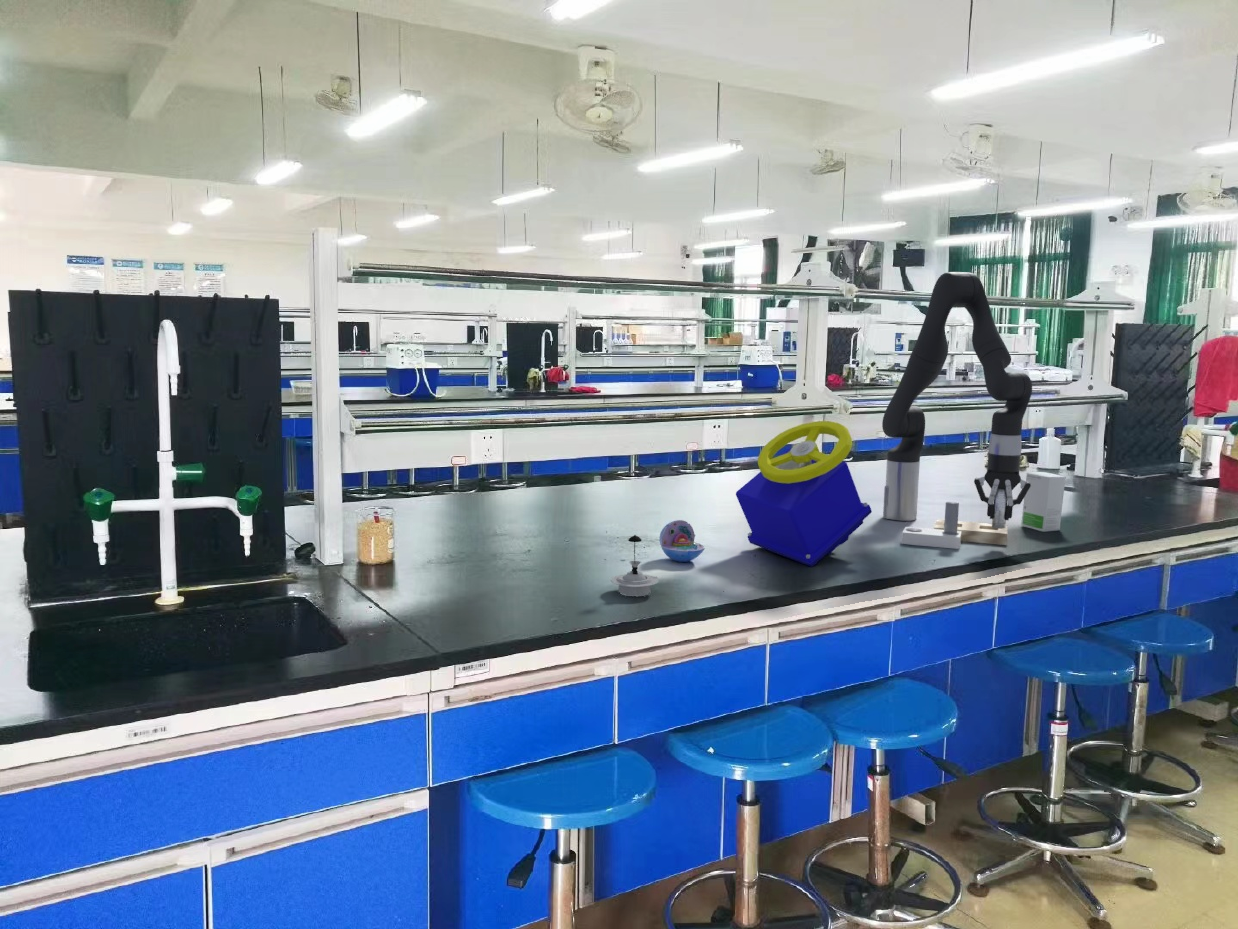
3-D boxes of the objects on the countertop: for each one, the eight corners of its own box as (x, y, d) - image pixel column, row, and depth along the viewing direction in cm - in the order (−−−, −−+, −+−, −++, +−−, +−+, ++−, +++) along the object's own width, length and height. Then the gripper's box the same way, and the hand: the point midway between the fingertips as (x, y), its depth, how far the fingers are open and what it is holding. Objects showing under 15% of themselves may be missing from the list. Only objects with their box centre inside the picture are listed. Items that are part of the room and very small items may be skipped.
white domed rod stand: (662, 539, 181) (655, 529, 191) (613, 540, 180) (608, 530, 190) (662, 599, 183) (655, 585, 193) (612, 600, 182) (608, 586, 192)
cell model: (679, 569, 207) (680, 528, 205) (650, 558, 217) (651, 518, 215) (714, 563, 212) (715, 523, 210) (684, 553, 222) (685, 514, 220)
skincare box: (1020, 526, 257) (1024, 472, 255) (1037, 524, 259) (1041, 471, 257) (1044, 532, 249) (1049, 476, 247) (1062, 530, 252) (1066, 475, 250)
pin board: (933, 538, 240) (933, 527, 240) (936, 529, 251) (936, 519, 251) (1006, 545, 233) (1007, 533, 233) (1006, 535, 244) (1007, 525, 244)
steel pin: (991, 527, 229) (994, 489, 228) (991, 525, 232) (994, 487, 230) (1005, 529, 228) (1008, 490, 226) (1005, 526, 231) (1008, 488, 229)
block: (901, 543, 234) (904, 502, 232) (904, 537, 241) (907, 497, 240) (959, 549, 228) (962, 506, 227) (960, 542, 236) (963, 501, 234)
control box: (824, 505, 239) (788, 411, 226) (904, 529, 217) (869, 427, 204) (757, 564, 230) (716, 470, 217) (834, 595, 208) (793, 493, 195)
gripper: (974, 452, 226) (969, 519, 229) (1035, 455, 221) (1029, 524, 224) (975, 448, 233) (970, 513, 236) (1034, 452, 228) (1029, 518, 230)
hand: (999, 518), depth 230 cm, fingers closed on steel pin, 3 cm apart
